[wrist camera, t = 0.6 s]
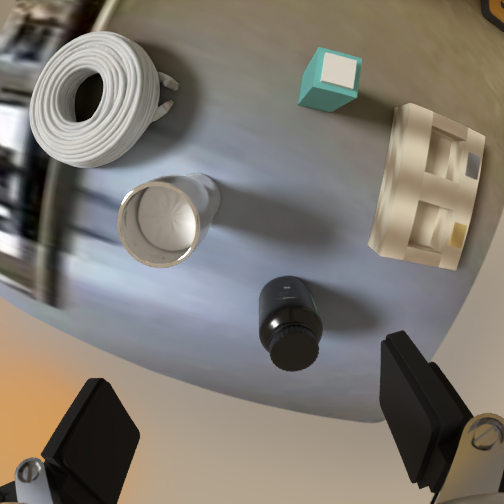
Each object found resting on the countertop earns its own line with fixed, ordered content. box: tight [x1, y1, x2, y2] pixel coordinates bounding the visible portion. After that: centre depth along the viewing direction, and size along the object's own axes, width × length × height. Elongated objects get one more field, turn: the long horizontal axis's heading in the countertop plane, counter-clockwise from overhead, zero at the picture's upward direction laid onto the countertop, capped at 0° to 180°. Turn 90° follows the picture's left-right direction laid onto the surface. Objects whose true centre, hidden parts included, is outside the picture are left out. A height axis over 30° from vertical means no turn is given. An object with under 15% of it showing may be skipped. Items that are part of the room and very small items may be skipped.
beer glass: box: [117, 173, 220, 268], centre depth 29 cm, size 7×7×15 cm
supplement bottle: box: [259, 276, 323, 372], centre depth 34 cm, size 7×7×12 cm
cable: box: [30, 31, 179, 168], centre depth 30 cm, size 18×18×6 cm
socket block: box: [368, 103, 485, 270], centre depth 33 cm, size 18×12×5 cm, turn 170°
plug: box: [298, 47, 362, 112], centre depth 27 cm, size 4×4×11 cm
